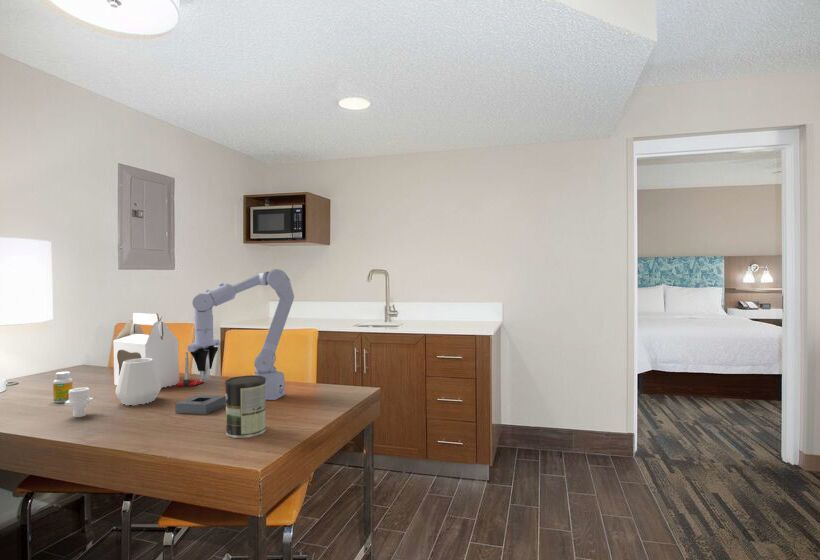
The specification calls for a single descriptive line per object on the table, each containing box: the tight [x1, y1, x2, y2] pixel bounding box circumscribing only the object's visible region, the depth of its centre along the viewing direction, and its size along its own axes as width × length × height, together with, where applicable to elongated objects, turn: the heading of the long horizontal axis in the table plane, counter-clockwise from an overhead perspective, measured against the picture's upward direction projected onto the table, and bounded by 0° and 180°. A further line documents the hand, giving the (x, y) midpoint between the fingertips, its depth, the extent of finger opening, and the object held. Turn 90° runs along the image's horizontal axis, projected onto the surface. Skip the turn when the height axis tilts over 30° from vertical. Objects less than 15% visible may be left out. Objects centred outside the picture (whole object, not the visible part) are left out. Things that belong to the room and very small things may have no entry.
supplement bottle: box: [52, 371, 74, 404], centre depth 163 cm, size 5×5×10 cm
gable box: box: [112, 312, 180, 389], centre depth 187 cm, size 22×13×28 cm, turn 59°
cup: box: [115, 358, 162, 406], centre depth 161 cm, size 13×13×14 cm
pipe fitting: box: [64, 387, 94, 418], centre depth 145 cm, size 6×7×8 cm
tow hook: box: [176, 351, 204, 387], centre depth 188 cm, size 8×13×9 cm
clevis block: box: [174, 394, 226, 415], centre depth 151 cm, size 10×10×3 cm
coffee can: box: [224, 374, 267, 439], centre depth 128 cm, size 10×10×14 cm
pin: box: [199, 350, 211, 382], centre depth 161 cm, size 3×3×10 cm
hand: (204, 369), depth 161 cm, fingers closed on pin, 3 cm apart
